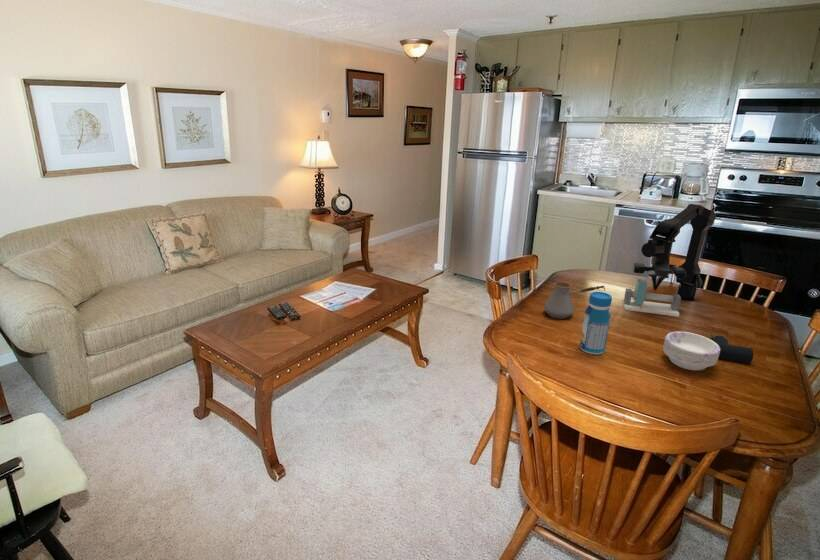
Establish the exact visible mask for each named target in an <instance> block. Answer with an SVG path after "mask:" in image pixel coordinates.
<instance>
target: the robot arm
mask: <svg viewBox="0 0 820 560" xmlns="http://www.w3.org/2000/svg"><path fill="white" fill-rule="evenodd" d="M716 219H717V214H716V213H715V210H713V209H709V208H707V207H704V205H703V206H702V205H701V204H696V203H690V204H689V203H688V205H687V206H686V207H685V208H683V210H682V211H680V212H679V213H677V214H676V215H675V216H673V217H671V218H668V219H664V220H661V221H660V222H658V223H657V224H656V226H655V227H654V229H653V231H652V232H651V234H650V236H649V239H648V240H647V242H645V243H644V244H643V245H642V247H641V250H640V251H641V253H642V255H643V256H644V258H645V257H646V258H652V260H651V261H652V262H651V266H646V265H645V264H644V263H640V262H639V263H638V262H634V263H633V264H632V272H633V273H635V274H644V273H645V272H646V273H647V275H648V276H649V277H651V282H652V283H651V284H652V288H653V291H657V289H658V288H659V287H660V285H661V284H662V282H663V281H664V280H665V279H670V278H669V277H670V276H669V275H674V276H675V282H676V283H677V284H678V285H677V287H676V291H675V294H678V295H680V297H681V300H687V301H694V302H695V301H696V298H695V297H696V293H697V289H698V288H699V289H700V288H701V287H702V285H703V280H702V277H701V268H700V265H699V261H700V256H701V252H702V250H703V246H704V242H705V237H706V233H707V231H708V230H709V229H710V228H711V227H712V226H713V224H714V222H715V221H716ZM689 222H690V225H691V228H692V233H691V235H690V239H689V240H690V241H689V244H688V248H687V250H686V251H687V252H686V256H685V261H684V262H683V263H682V264H680V265H679V266H677V265H676V264H671V263H670V257H671V253H672V248H673V243H676V237H677V236H678V235H679V234H680V233H681V229H682V228H683V227H684V226H686V225H687V224H688V223H689Z"/></svg>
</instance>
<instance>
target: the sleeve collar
mask: <svg viewBox="0 0 820 560" xmlns="http://www.w3.org/2000/svg"><path fill="white" fill-rule="evenodd" d="M636 279H637V280H636V283H635V289H634V291H637V294H636V298H634V297H633V300H634V302H635V304H642V305H643V303H644V301H645V299H644V298H645V293H646V292H647V287H648V283H647V281H646V279H644V278H636Z"/></svg>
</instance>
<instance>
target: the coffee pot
mask: <svg viewBox="0 0 820 560" xmlns="http://www.w3.org/2000/svg"><path fill="white" fill-rule="evenodd" d="M553 286H554V290H553V291H552V293H551V295H550V296H549V298H548V299H547V301H546V302H545V304H544V310H545V312H546V313H547V314H548V316H550V317H551V318H555V319H567V318H569V317H570V316H572V315H573V313H575V307H574V304H573V300H572V298H571V295H575V294H578V293H585V292H593V291H596V290H600V289H603V292H605V291H606V287H605V285H601V286H598V285H597V286H592V287H591V286H590V287H587V288H583V289H579V290H574V291H569V290H570V288H572V285H571V284H570V283H568V282H563V281H562V282H561V281H557V282H555V283H553Z"/></svg>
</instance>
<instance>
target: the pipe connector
mask: <svg viewBox="0 0 820 560" xmlns="http://www.w3.org/2000/svg"><path fill="white" fill-rule="evenodd" d="M709 339H711V340H712V341H714V342H715V343H717V344H718V345H719V347H720V353H719V357H718V359H721V360H727V361H733V362H738V361H739V362H740V363H744V362H745V363H746V364H751V363H752V361H753V358H754V350H753V348H752V347H745V346H739V345H734V344H730V343H729V342H728V338H727V336H726V334H717V333H713V332H712V333H710V337H709ZM739 362H738V363H739Z"/></svg>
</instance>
